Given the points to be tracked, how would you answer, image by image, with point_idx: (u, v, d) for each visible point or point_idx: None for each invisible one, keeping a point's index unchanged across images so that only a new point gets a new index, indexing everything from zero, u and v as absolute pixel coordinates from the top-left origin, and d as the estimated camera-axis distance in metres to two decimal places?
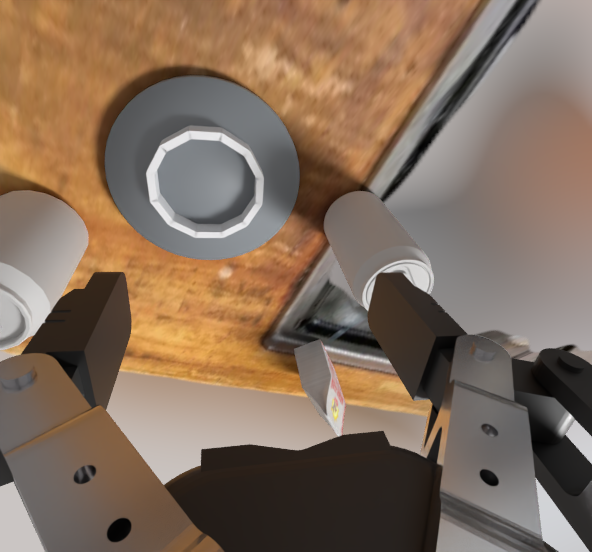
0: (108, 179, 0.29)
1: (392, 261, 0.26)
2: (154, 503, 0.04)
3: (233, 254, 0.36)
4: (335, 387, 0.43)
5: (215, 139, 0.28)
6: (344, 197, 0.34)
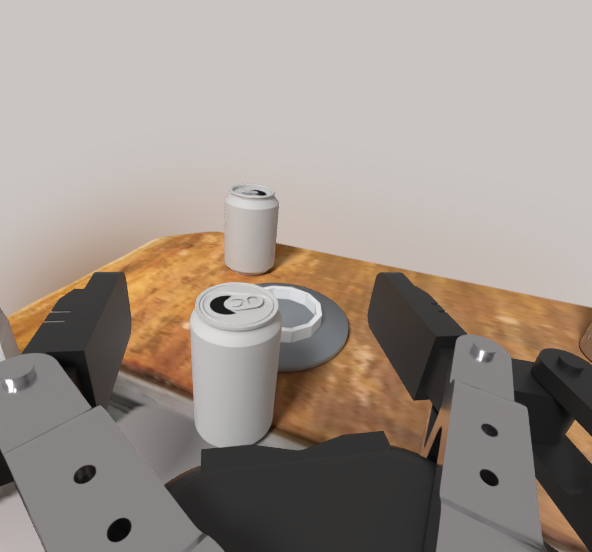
0: (281, 283, 0.50)
1: (275, 298, 0.26)
2: (154, 503, 0.04)
3: None
4: None
5: (317, 312, 0.42)
6: None
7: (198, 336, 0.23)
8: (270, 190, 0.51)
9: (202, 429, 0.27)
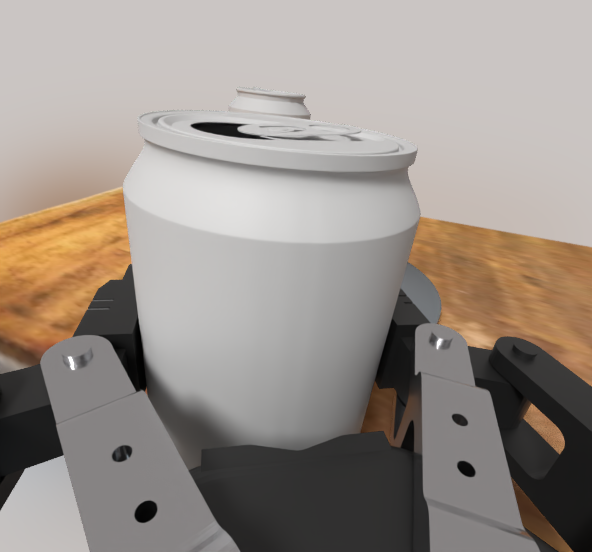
0: None
1: None
2: (180, 492, 0.04)
3: None
4: None
5: None
6: None
7: (141, 212, 0.06)
8: None
9: None
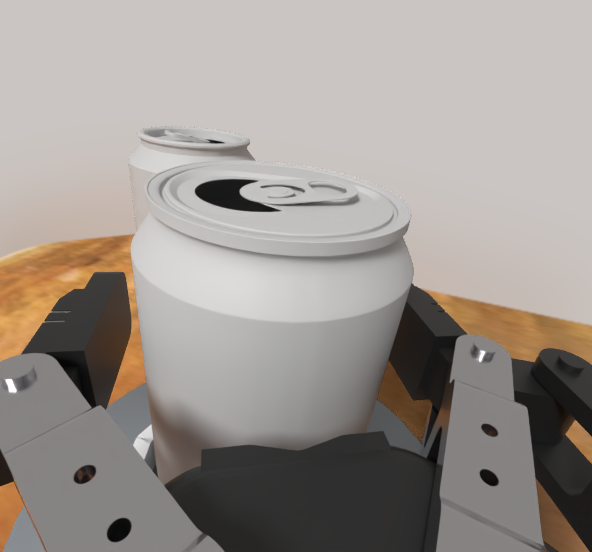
0: None
1: (382, 192, 0.09)
2: (154, 504, 0.04)
3: None
4: None
5: None
6: None
7: (149, 284, 0.07)
8: (240, 139, 0.22)
9: None
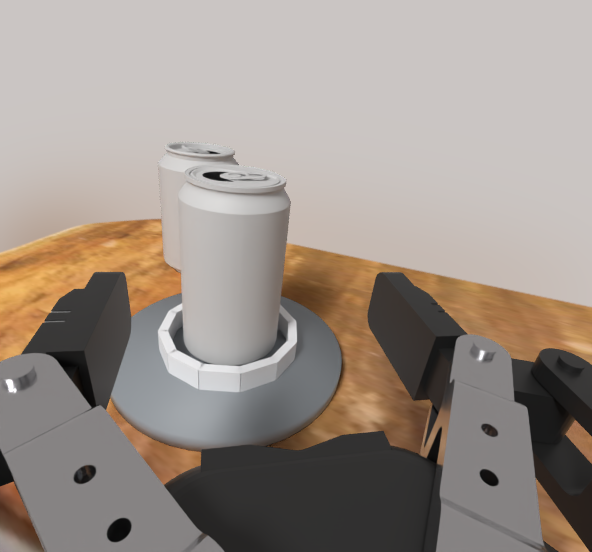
0: None
1: (282, 177, 0.22)
2: (154, 504, 0.04)
3: None
4: None
5: (289, 336, 0.25)
6: None
7: (187, 205, 0.19)
8: (229, 151, 0.35)
9: (192, 341, 0.23)
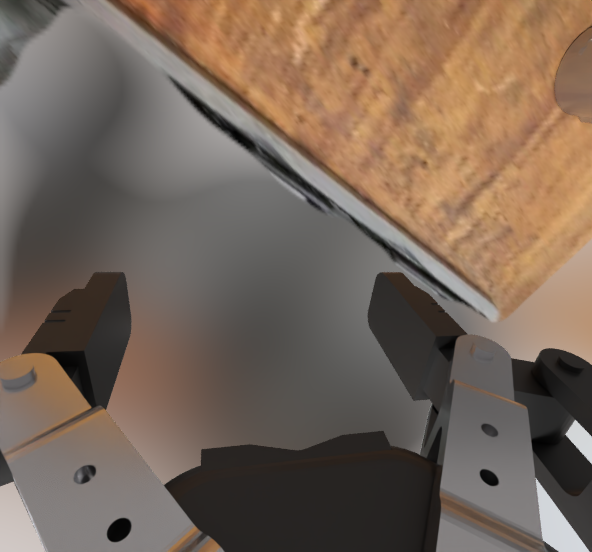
0: None
1: None
2: (154, 504, 0.04)
3: None
4: None
5: None
6: None
7: None
8: None
9: None
